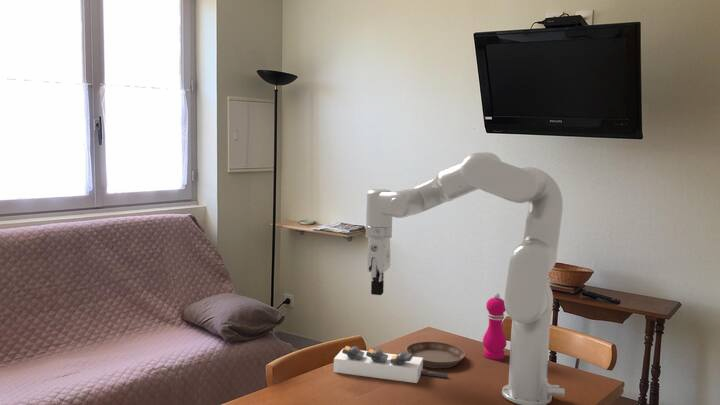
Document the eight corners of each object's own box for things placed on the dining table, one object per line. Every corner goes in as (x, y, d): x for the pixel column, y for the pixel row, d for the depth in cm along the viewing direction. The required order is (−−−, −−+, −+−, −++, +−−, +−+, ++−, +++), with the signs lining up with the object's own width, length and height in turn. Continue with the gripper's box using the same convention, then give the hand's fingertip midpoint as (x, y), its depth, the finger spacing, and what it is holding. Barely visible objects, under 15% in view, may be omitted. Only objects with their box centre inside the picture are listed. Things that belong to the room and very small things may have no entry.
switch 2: (413, 359, 172) (411, 350, 172) (411, 363, 168) (408, 354, 168) (394, 362, 174) (392, 353, 173) (391, 366, 170) (389, 357, 170)
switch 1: (362, 358, 176) (365, 349, 176) (359, 362, 173) (362, 354, 172) (344, 351, 177) (347, 342, 177) (341, 355, 174) (343, 346, 173)
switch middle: (386, 361, 174) (389, 352, 174) (383, 365, 171) (386, 357, 170) (368, 353, 175) (370, 345, 175) (365, 358, 172) (367, 349, 171)
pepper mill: (506, 361, 186) (509, 296, 184) (481, 359, 187) (484, 295, 185) (505, 353, 193) (508, 291, 191) (482, 351, 194) (484, 289, 192)
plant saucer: (463, 352, 193) (464, 343, 193) (465, 373, 176) (465, 363, 176) (407, 348, 196) (408, 339, 196) (403, 368, 179) (404, 358, 178)
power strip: (449, 374, 174) (449, 360, 174) (444, 386, 166) (445, 371, 165) (342, 361, 183) (343, 347, 182) (333, 372, 174) (333, 357, 174)
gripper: (385, 236, 169) (383, 301, 171) (397, 229, 184) (395, 289, 186) (359, 235, 171) (357, 299, 173) (372, 227, 186) (371, 286, 188)
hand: (377, 293), depth 179 cm, fingers closed
